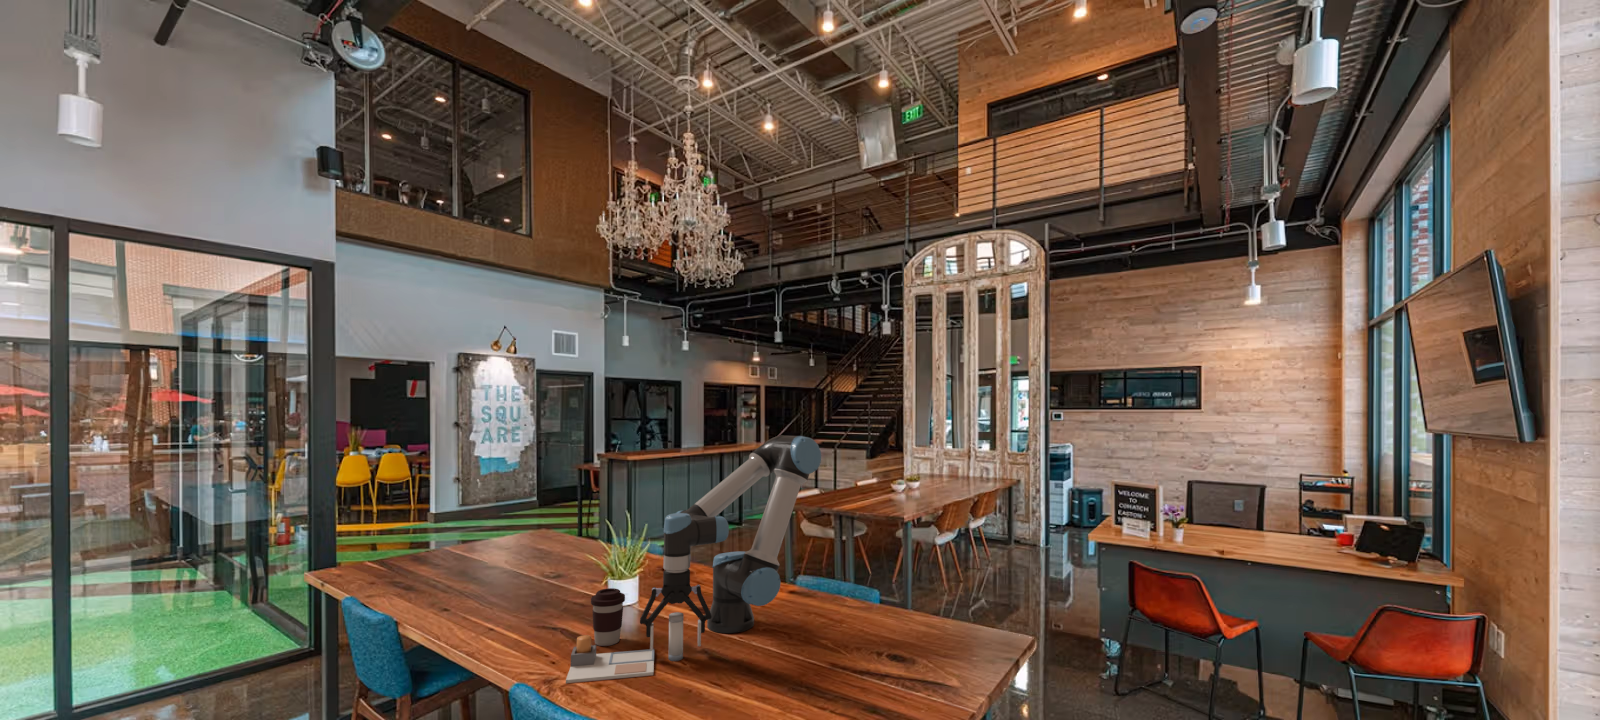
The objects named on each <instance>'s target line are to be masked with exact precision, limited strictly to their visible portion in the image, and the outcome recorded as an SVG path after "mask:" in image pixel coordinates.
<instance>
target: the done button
mask: <svg viewBox="0 0 1600 720" xmlns="http://www.w3.org/2000/svg"><path fill="white" fill-rule="evenodd" d="M591 645H592V636H591V635H589V634H587V635H585V634H584V635H580V636H577V638H576V647H577V654H578V653H590V652H591Z"/></svg>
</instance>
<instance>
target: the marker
mask: <svg viewBox="0 0 1600 720" xmlns="http://www.w3.org/2000/svg"><path fill="white" fill-rule="evenodd" d="M684 616H685V614H684V613H683V612H681V611H680V612H679V611H678V612H677V611H676V612H671V613H669V614H668V660H669V661H671V662H679V661H681V660H682V659H684V618H685V617H684Z"/></svg>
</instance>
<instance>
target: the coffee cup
mask: <svg viewBox="0 0 1600 720" xmlns="http://www.w3.org/2000/svg"><path fill="white" fill-rule="evenodd" d="M625 601H626V595H625V593H623V592H621V590H620V589H619V588H614V587H611V588H610V587H609V588H603V589H600V590H598V591H596V594H595V595H593V596H591V598H590V604H591V606H592V626H593V627H592V628H593V631H594V632H593V636H594V645H596V646H600V647H607V646H608V647H609V646H613V645H615V644H618V643H619V641H620V639H621V630H622V629H621V628H622V624H623V614H624V607H623V605H624V602H625Z"/></svg>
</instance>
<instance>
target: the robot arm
mask: <svg viewBox="0 0 1600 720" xmlns="http://www.w3.org/2000/svg"><path fill="white" fill-rule="evenodd" d="M821 463H822V452H821V449H820V446H819V444H818V442H817V441H816V440H814V439H813V438H811V437H808V436H804V435H786V434H784V435H783V434H781V435H777V436H775V437H772V438H770V439H769V440H767V441H765V442H764V443H762V444H761V445H760V446H759V447H757V448H756V449H754V450H753V451H752V452H750V454H749V455H748V459H747V460H746V461H745V462H743V463H742V464H741V465H740V466H739V467H738V468H736V469H735V470H733V472H731V473H730V474H728V475H727V476H726V478H724V479H723V480H722V481H720V482H719V483H718V484H717V485H716V486H714V487H713V488H712V489H711V490H709V491H708V492H707V493H706V494H705V495H703V496H702V497H701V498H700V499H699V500H697V501H696V502H695V503H694V504H693V505H691V506H690V507H689V508H688V509H683V510H682V509H681V510H678V511H676V512H675V513H674V512H673V513H670V514H667V515H666V516H665V518H664V524H663V566H662V568H663V569H664V570H663V572H662V573H663V574H662V575H663V576H662V578H663V579H662V587H658V588H657V587H655V586H653V587H652V588H651V593H650V594H651V595H650V597H649V600H648V602H647V603H646V605H645V608H644V610H643V612H642V614H641V616H640V619H639V623H640V624H641V625H645V626H646V628H645V629H646V630H645V631H646V632H645V634H646V635H645V636H646V638H649V639H650V640H649V643H650V644H649V649H650V650H653V649H654V621H655V620H656V618H657V617H658V616H659V615H660V614H661V612H662V610H663V609H664V608H665V607H666V606H667V605H668V604H670V605H675V604H682V603H685V604H686V605H687V606H688V608H690V610H692V612H693V613H694V614H695V616H696V617H697V647H701V646H702V634H704V633H705V632H706V628H707V629H709V630H710V631H712V632H715V633H719V634H720V633H721V634H736V633H742V632H745V631H748V630H750V629H752V628H753V627H754V625H755V618H754V617H755V616H754V613H753V610H752V607H751V605H753V606H757V607H762V606H766V605H767V604H769V603H771V602H772V601H773V600H774V599H775V598H776V597H777V595H778V594H779V591H780V588H781V578H780V577H781V576H780V574H779V573H778V572H779V568H780V563H779V560H778V555H779V553H780V550H781V547H782V543H783V540H784V538H785V536H786V535H785V534H786V531H787V529H788V526H789V523H790V519H791V517H792V514H793V510H794V507H795V506H796V505H795V504H796V502H797V497H798V495H799V493H800V489H801V486H802V485H804V484H806V483H807V482H808V480H809V477H810V474H812V473H813V474H814V473H815V472H816V471H817V470H818V469H819V468H820V466H821ZM772 473H774V474H775V478H774V481H773V485H772V488H771V491H770V494H769V496H768V499H767V503H766V506H765V509H764V511H763V514H762V517H761V520H760V522H759V525H758V529H757V531H756V534H755V537H754V539H753V543H752V545H751V548H750V549H749V550H747V551H730V552H729V551H728V552H723V553H718V554H716V555H715V556H714V557H713V561H712V603H711V606H710V608H709V607H708V604H707V602H706V601H705V598H704V596H703V594H702V586H701V585H700V584H699V583H697V584H696V585H693V586H692V585H691V570H690V568H691V549H692V547H696V546H701V545H702V546H703V545H710V544H717V543H722V542H724V541H727V539H728V537H729V531H730V529H729V522H728V520H727V519H726V518H725V517H724V516H718V515H719V514H721V513H722V512H723V511H724V510H725V509H726V508H727V507H729V506H730V505H731V504H732V503H734V501H736V500H737V499H738V498H739V497H740V496H742V495H743V494H744V493H746V491H747V490H749V488H751V487H752V486H753V485H755V484H756V483H757V482H758V481H759V480H761V478H763V477H765V478H766V477H768V476H770V475H771V474H772ZM691 592H693V594H694V595H696V596H697V599H698V600H699V603H700V605H701V607H702V609H703V611H704V614H703V612H702V611H701V610H700V609H699V608H698V606H697V605H696V604H695V602H694V601H693V600H692V599H691V598H690V596H689V595H690V594H691ZM659 595H662V596H663V598H662V600H661V601H660V603H658V605H657V607H656V608H655V609H654V610H653V612H652V613H651V614H650V616H649V617H648V615H649V613H650V611H651V609H652V607H653V604H654V603H655V600H656V597H657V598H658V597H659ZM647 617H648V618H647ZM706 621H707V623H706ZM706 624H707V625H706Z"/></svg>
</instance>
